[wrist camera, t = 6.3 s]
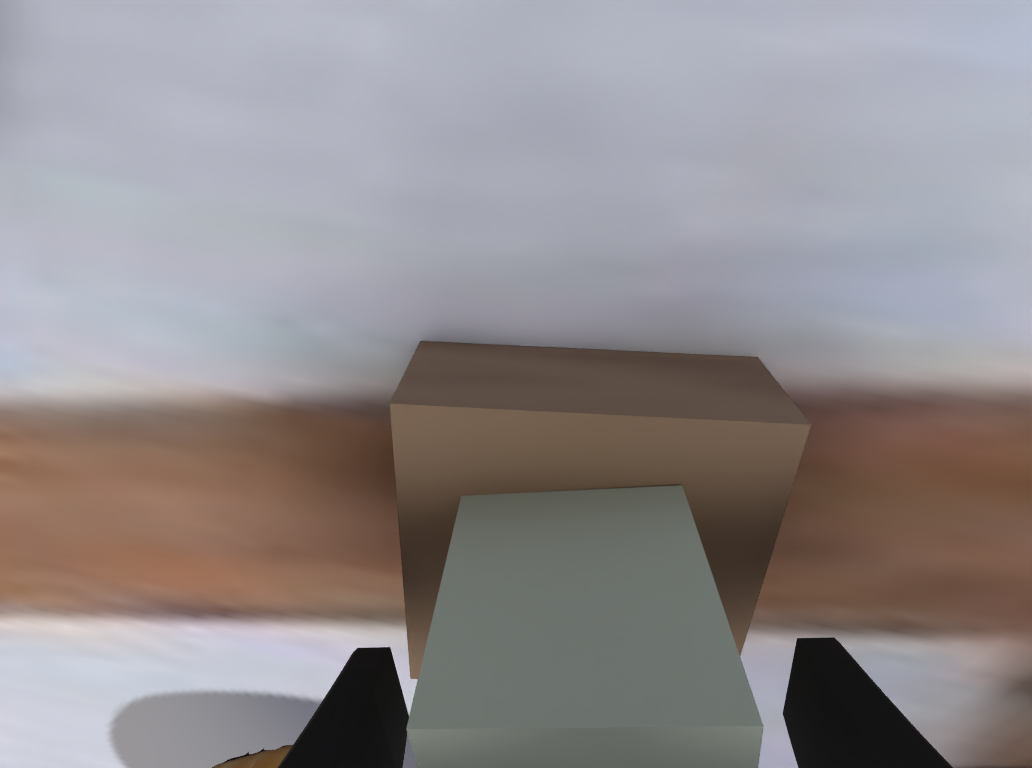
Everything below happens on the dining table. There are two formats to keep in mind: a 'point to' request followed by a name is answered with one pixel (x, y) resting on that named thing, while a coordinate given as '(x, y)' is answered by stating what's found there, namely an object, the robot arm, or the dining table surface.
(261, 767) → the pastry
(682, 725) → the green block
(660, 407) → the base block
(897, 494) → the dining table surface
